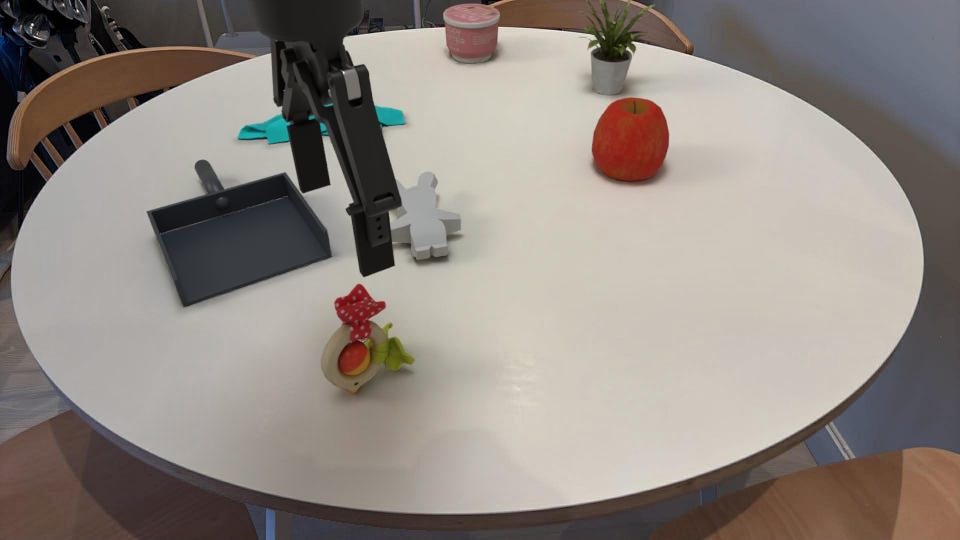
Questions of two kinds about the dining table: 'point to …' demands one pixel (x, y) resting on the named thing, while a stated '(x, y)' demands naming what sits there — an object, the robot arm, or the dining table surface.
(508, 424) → the dining table surface
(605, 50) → the house plant
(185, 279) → the scoop
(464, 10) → the container
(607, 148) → the apple
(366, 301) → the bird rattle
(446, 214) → the bunny figurine
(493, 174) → the dining table surface
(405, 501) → the dining table surface
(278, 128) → the cloth
